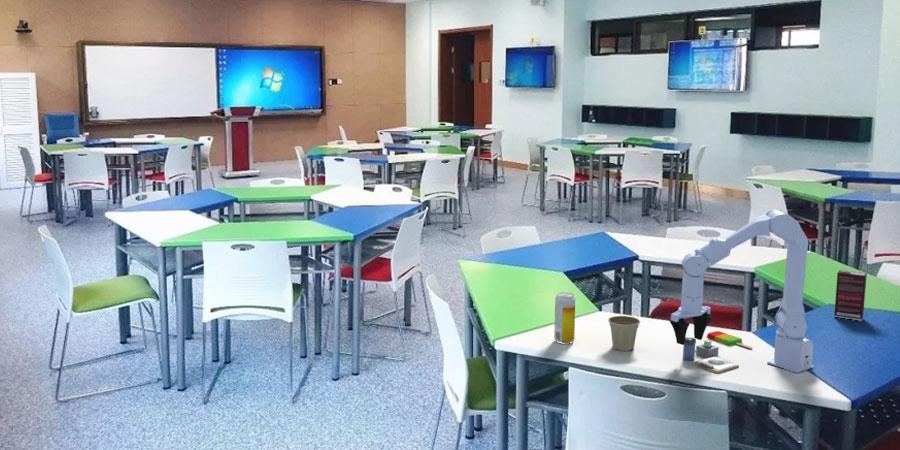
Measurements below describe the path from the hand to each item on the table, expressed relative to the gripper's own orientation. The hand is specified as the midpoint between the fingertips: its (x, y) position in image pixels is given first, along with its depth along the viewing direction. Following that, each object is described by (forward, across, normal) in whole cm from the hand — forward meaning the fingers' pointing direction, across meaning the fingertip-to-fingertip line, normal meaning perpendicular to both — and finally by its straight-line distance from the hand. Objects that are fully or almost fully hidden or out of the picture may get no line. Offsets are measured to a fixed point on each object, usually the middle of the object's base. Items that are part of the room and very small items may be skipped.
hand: (689, 341), depth 221 cm
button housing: (+5, -8, 0) cm, 9 cm away
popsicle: (+6, -23, -2) cm, 24 cm away
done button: (+3, -8, 0) cm, 8 cm away
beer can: (+6, +19, -31) cm, 37 cm away
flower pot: (+6, +8, -17) cm, 20 cm away
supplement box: (+5, -77, +4) cm, 77 cm away
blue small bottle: (+5, 0, 0) cm, 5 cm away
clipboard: (+5, -2, +8) cm, 10 cm away
